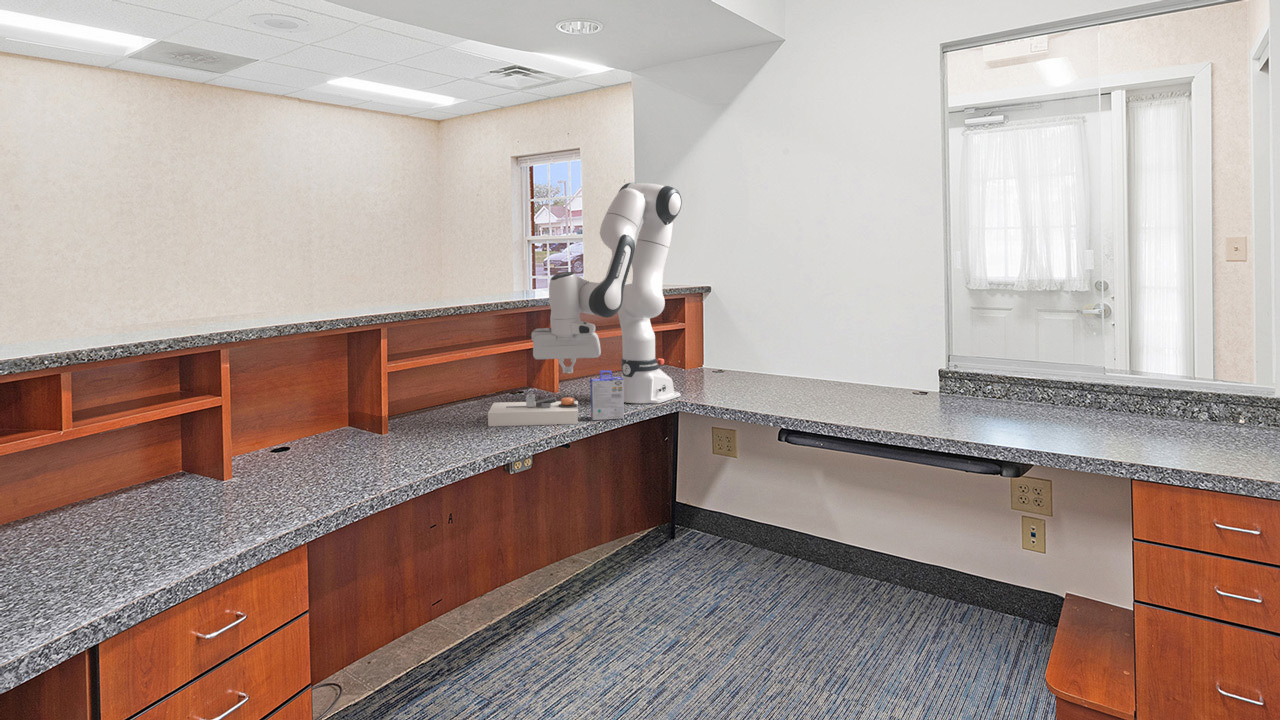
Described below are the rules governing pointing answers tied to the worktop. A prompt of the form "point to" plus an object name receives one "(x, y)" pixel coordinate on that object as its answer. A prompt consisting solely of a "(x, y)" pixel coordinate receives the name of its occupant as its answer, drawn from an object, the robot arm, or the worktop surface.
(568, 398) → the push button
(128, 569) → the worktop surface
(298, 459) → the worktop surface
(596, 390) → the ink cartridge box
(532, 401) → the slider knob
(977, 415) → the worktop surface
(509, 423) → the control panel
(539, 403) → the rocker switch
